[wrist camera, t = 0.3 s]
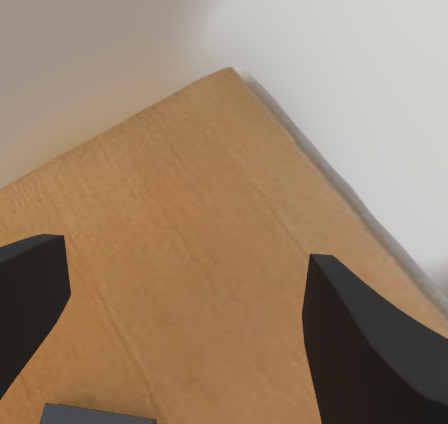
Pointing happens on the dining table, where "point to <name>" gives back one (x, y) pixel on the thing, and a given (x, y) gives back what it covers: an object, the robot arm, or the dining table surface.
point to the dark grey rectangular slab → (86, 416)
